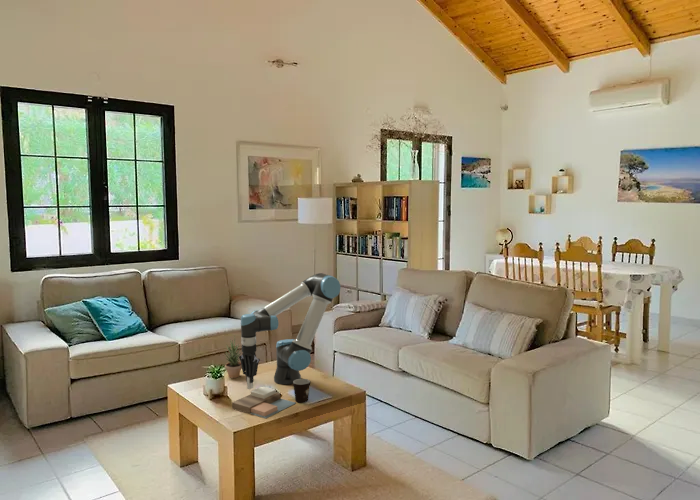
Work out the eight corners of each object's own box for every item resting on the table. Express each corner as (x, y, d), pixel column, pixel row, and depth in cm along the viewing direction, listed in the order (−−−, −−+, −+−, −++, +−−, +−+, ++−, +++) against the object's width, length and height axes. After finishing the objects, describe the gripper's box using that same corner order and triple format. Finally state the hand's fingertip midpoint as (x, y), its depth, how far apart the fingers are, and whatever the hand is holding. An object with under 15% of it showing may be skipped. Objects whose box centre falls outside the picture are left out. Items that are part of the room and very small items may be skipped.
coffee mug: (298, 405, 271) (298, 385, 270) (290, 400, 278) (289, 381, 277) (318, 399, 278) (318, 380, 277) (309, 394, 285) (309, 376, 284)
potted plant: (233, 380, 308) (232, 337, 305) (222, 377, 314) (220, 335, 311) (246, 375, 316) (245, 334, 313) (235, 372, 322) (234, 331, 319)
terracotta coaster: (264, 406, 269) (263, 402, 269) (277, 410, 264) (277, 406, 264) (250, 412, 262) (250, 408, 261) (264, 416, 256) (264, 412, 256)
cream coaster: (263, 389, 284) (263, 386, 284) (275, 393, 279) (275, 389, 279) (250, 395, 277) (250, 391, 276) (263, 398, 272) (263, 395, 271)
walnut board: (263, 394, 286) (263, 388, 285) (280, 399, 279) (280, 393, 279) (232, 408, 268) (231, 402, 267) (249, 413, 261) (249, 407, 261)
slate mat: (281, 399, 279) (281, 398, 279) (296, 403, 273) (296, 402, 273) (250, 413, 261) (250, 413, 261) (265, 418, 255) (265, 417, 255)
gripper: (234, 344, 281) (236, 388, 284) (252, 347, 274) (254, 393, 276) (245, 340, 287) (246, 383, 290) (263, 344, 280) (264, 388, 282)
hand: (250, 388), depth 283 cm, fingers closed
